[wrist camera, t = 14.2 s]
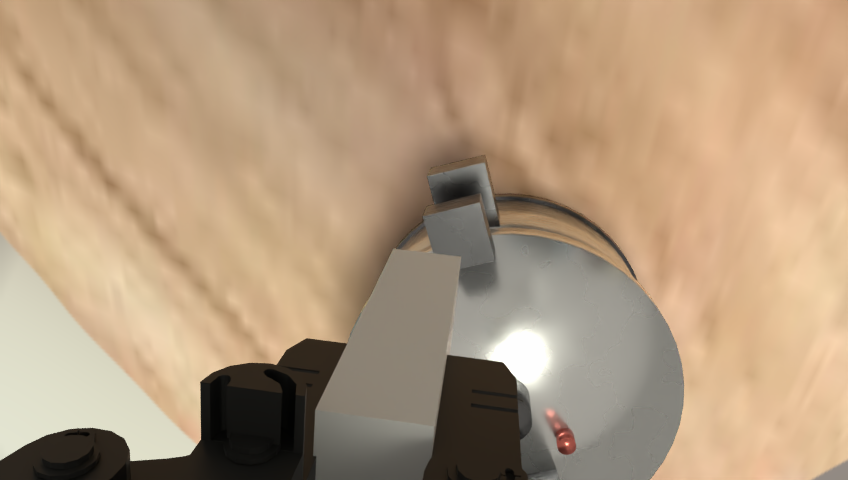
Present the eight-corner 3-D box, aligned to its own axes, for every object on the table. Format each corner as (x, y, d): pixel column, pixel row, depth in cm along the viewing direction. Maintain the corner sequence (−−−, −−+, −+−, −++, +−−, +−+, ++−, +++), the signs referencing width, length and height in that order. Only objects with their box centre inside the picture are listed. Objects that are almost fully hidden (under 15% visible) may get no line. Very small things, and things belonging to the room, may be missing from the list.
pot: (327, 181, 43) (291, 212, 36) (607, 112, 40) (633, 130, 33) (442, 558, 52) (433, 648, 44) (683, 525, 48) (718, 616, 41)
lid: (291, 234, 36) (251, 272, 30) (634, 148, 33) (665, 172, 27) (434, 647, 44) (425, 743, 38) (725, 611, 40) (764, 709, 34)
